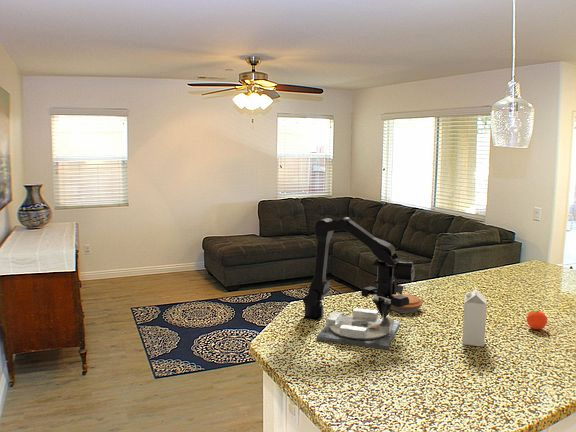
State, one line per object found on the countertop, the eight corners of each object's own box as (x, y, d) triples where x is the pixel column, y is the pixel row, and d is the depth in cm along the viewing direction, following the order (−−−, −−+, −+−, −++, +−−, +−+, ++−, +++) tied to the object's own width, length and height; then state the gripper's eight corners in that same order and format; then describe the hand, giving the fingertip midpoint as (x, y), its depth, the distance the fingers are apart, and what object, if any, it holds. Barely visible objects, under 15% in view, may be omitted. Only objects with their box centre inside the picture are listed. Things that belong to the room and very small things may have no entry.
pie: (431, 310, 216) (431, 298, 215) (404, 317, 208) (404, 305, 207) (403, 301, 229) (403, 289, 228) (377, 307, 220) (377, 296, 219)
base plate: (316, 340, 184) (316, 335, 184) (335, 317, 208) (335, 313, 207) (387, 350, 176) (387, 345, 175) (399, 325, 199) (399, 321, 198)
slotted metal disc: (320, 334, 185) (320, 325, 184) (337, 314, 206) (337, 305, 205) (385, 343, 177) (385, 333, 176) (396, 321, 198) (396, 312, 197)
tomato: (520, 328, 196) (521, 309, 195) (526, 323, 201) (527, 305, 200) (542, 333, 190) (544, 314, 189) (549, 328, 195) (550, 310, 194)
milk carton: (483, 339, 185) (486, 287, 182) (484, 347, 178) (487, 293, 175) (462, 337, 187) (465, 285, 184) (462, 344, 180) (464, 291, 177)
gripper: (419, 279, 191) (418, 320, 193) (380, 269, 205) (379, 308, 207) (399, 284, 184) (398, 327, 186) (360, 274, 198) (359, 313, 201)
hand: (384, 318), depth 195 cm, fingers closed
